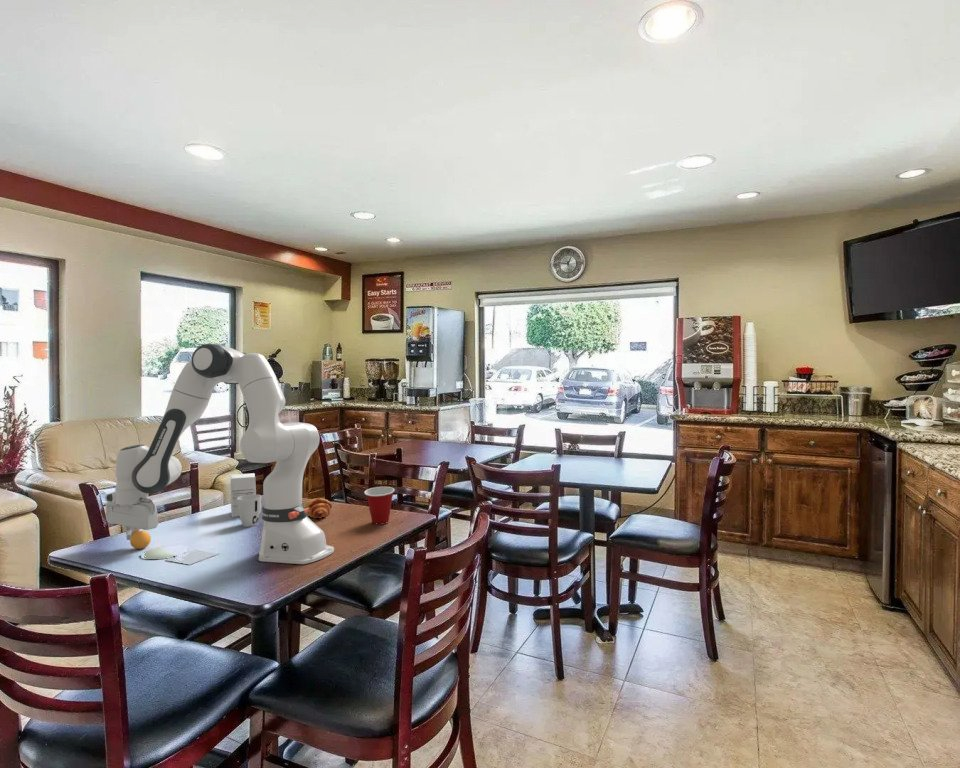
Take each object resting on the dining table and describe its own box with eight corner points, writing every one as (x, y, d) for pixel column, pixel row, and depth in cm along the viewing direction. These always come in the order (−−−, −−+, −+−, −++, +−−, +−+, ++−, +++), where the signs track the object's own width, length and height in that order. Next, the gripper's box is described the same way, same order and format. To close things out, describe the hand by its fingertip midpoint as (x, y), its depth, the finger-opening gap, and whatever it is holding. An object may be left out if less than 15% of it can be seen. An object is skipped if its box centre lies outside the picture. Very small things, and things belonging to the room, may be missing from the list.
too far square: (218, 554, 163) (218, 553, 163) (189, 565, 154) (189, 564, 154) (195, 550, 167) (195, 549, 167) (165, 560, 158) (165, 560, 158)
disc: (198, 548, 168) (198, 548, 168) (159, 562, 157) (159, 561, 157) (169, 543, 174) (169, 543, 174) (129, 556, 162) (129, 556, 162)
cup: (256, 527, 191) (255, 499, 191) (233, 527, 191) (233, 499, 191) (265, 521, 199) (265, 494, 199) (244, 521, 199) (243, 494, 199)
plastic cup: (358, 525, 192) (358, 492, 192) (374, 517, 202) (373, 485, 202) (386, 527, 189) (385, 493, 188) (400, 519, 199) (399, 487, 199)
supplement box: (231, 512, 214) (230, 474, 214) (255, 509, 217) (255, 472, 217) (230, 517, 205) (229, 478, 205) (256, 514, 209) (255, 476, 209)
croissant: (307, 517, 217) (297, 501, 216) (329, 503, 221) (320, 487, 220) (314, 530, 198) (302, 512, 197) (338, 514, 202) (327, 496, 200)
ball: (145, 546, 173) (156, 544, 171) (128, 552, 168) (139, 550, 166) (141, 530, 173) (152, 527, 171) (124, 534, 168) (135, 532, 166)
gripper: (163, 497, 169) (163, 541, 170) (121, 491, 178) (121, 532, 178) (144, 502, 164) (143, 547, 164) (101, 494, 172) (101, 538, 172)
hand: (131, 539), depth 171 cm, fingers closed
